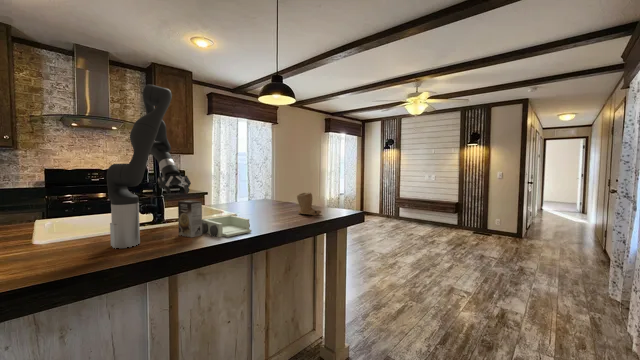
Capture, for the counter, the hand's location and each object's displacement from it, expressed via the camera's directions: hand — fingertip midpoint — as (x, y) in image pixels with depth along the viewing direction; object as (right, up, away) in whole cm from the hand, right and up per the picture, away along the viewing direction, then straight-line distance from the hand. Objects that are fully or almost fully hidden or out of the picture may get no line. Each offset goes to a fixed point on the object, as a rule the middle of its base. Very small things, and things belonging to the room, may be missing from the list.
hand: (179, 192), depth 138 cm
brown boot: (+61, -17, +50) cm, 81 cm away
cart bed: (+24, -19, 0) cm, 31 cm away
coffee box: (+9, -20, -7) cm, 23 cm away
